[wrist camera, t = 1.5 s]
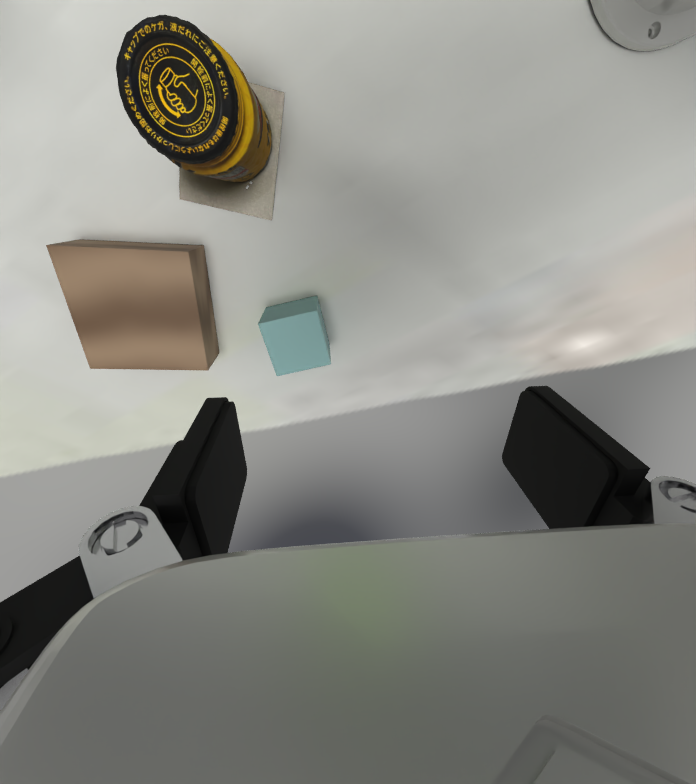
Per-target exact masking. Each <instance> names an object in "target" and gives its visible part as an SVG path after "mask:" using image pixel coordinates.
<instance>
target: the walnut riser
mask: <svg viewBox="0 0 696 784" xmlns="http://www.w3.org/2000/svg"><path fill="white" fill-rule="evenodd" d="M46 246H47V249H48V251H49V254H50V257H51V260H52V263H53V265H54V268H55V271H56V274H57V277H58V279H59V282H60V285H61V288H62V291H63V293H64V296H65V299H66V302H67V305H68V308H69V310H70V313H71V316H72V319H73V322H74V324H75V327H76V330H77V333H78V336H79V338H80V341H81V344H82V347H83V350H84V352H85V355H86V358H87V361H88V364H89V366H90V369H155V370H209V368H210V366H211V365H212V363H213V362H214V360H215V359H216V357H217V356H218V354H219V347H218V341H217V334H216V327H215V320H214V313H213V306H212V299H211V292H210V285H209V278H208V271H207V264H206V257H205V251H204V246H203V245H183V244H162V243H141V242H121V241H100V240H74V241H68V242H62V243H56V244H50V245H46Z"/></svg>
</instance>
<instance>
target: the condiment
mask: <svg viewBox="0 0 696 784" xmlns="http://www.w3.org/2000/svg"><path fill="white" fill-rule="evenodd" d="M116 71H117V78H118V86H119V92H120V96H121V99H122V102H123V106H124V108H125V110H126V112H127V114H128V116H129V118H130V120H131V121H132V123H133V125H134V126H135V127H136V128H137V129H138V132H139V133H140V135H141V136H142V137H143V138H145V139H146V141H147V143H148V144H149V145H151V146H152V147H153V148H155V149H156V150H157V151H158V152H159V153H161V154H163V155H165V156H166V157H167V158H168V159H169V160H171V161H172V162H173V163H175V164H176V165H177V166H178V167H180V170H179V171H180V179H179V189H180V199H182V200H186V201H191V202H195V203H199V204H204V205H208V206H212V207H217V208H221V209H225V210H229V211H235V212H238V213H242V214H246V215H251V216H255V217H259V218H263V219H268V220H272V214H273V204H274V193H275V183H276V174H277V164H278V154H279V144H280V134H281V125H282V114H283V104H284V92H280V91H277V90H273V89H270V88H267V87H263V86H260V85H256V84H253V83H249V82H247V79H246V77H245V76H244V73H243V72H242V71H241V69H240V68H239V66H238V65H237V63H236V62H235V61H234V60H233V58H232V57H231V56H230V55H229V54H228V53H227V52H226V51H225V50H224V49H223V48H222V47H221V46H220V45H219V44H218V43H216V42H215V41H214V40H212V39H210V38H209V37H208V36H207V35H205V34H204V33H202V32H201V31H200V30H199V29H198V28H197V27H196V26H195V25H193V24H192V23H190V22H188V21H185V20H181V19H179V18H177V17H172V16H167V15H158V16H156V17H148V18H146V19H144V20H142V21H141V22H139V23H138V24H137V25H135V26H134V27H133V29H131V30H130V31H128V32H127V33H126V35H125V37H124V40H123V43H122V46H121V49H120V52H119V55H118V58H117V64H116ZM251 181H252V182H253V183H252V184H249V182H251ZM247 185H249V188H248V189H246V188H245V187H246V186H247Z"/></svg>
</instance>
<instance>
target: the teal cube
mask: <svg viewBox="0 0 696 784" xmlns="http://www.w3.org/2000/svg"><path fill="white" fill-rule="evenodd" d="M258 325H259V328H260V331H261V333H262V336H263V339H264V342H265V344H266V347H267V350H268V353H269V356H270V358H271V361H272V364H273V367H274V370H275V372H276V375H277V376H280V375H285V374H289V373H294V372H298V371H302V370H307V369H311V368H316V367H320V366H325V365H329V364H331V359H330V346H329V340H328V336H327V333H326V329H325V325H324V321H323V317H322V313H321V309H320V305H319V301H318V297H317V296H313V297H309V298H304V299H300V300H296V301H292V302H287V303H283V304H279V305H274V306H270V307H266V309H265V311H264V313H263V315H262V317H261V319H260V321H259V323H258Z"/></svg>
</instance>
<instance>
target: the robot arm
mask: <svg viewBox="0 0 696 784" xmlns="http://www.w3.org/2000/svg"><path fill="white" fill-rule="evenodd" d="M590 1H591V4H592V7H593V10H594V14H595V16H596V18H597V20H598V21H599V23H600V25H601V27H602V28H603V30H604V31H605V32H606V33H607V34H608V35H609V36H610V37H611V38H612V39H613V40H614V41H615V42H616V43H618V44H620V45H622V46H624V47H626V48H627V49H633V50H638V51H651V50H659V49H662V48H665V47H668V46H671V45H674V44H676V43H678V42H680V41H682V40H685V39H687V38H689V37H691V36H693V35H695V34H696V0H590ZM502 459H503V463H504V465H505V466H506V468H507V469H508V471H509V472H510V473H511V475H512V476H513V478H514V479H515V481H516V482H517V483H518V485H519V486H520V488H521V489H522V491H523V492H524V493H525V495H526V496H527V498H528V499H529V500H530V502H531V503H532V505H533V506H534V508H535V509H536V510H537V512H538V513H539V514H540V516H541V517H542V519H543V520H544V522H545V523H546V524H547V526H548V527H549V529H542V530H525V531H509V532H495V533H479V534H463V535H448V536H434V537H419V538H405V539H390V540H376V541H362V542H349V543H335V544H321V545H308V546H296V547H284V548H272V549H261V550H250V551H240V552H232V553H227V552H228V548H229V544H230V540H231V536H232V533H233V529H234V524H235V521H236V517H237V513H238V509H239V505H240V501H241V497H242V493H243V489H244V486H245V482H246V476H247V466H246V461H245V456H244V450H243V445H242V440H241V434H240V429H239V424H238V419H237V413H236V408H235V404H234V402H229V401H228V399H227V398H226V397H222V398H207V399H206V400H205V402H204V404H203V406H202V407H201V409H200V411H199V413H198V415H197V416H196V418H195V420H194V422H193V424H192V425H191V427H190V429H189V431H188V433H187V434H186V436H185V438H184V440H181V441H178V442H177V443H176V444H175V445H174V447H173V449H172V451H171V453H170V454H169V456H168V457H167V459H166V461H165V463H164V464H163V466H162V468H161V470H160V471H159V473H158V475H157V476H156V478H155V480H154V482H153V483H152V485H151V487H150V489H149V490H148V492H147V493H146V495H145V497H144V499H143V500H142V502H141V504H140V506H131V507H127V508H121V509H119V510H116V511H114V512H111V513H109V514H108V515H106V516H104V517H103V518H101V519H99V520H98V521H97V522H96V523H95V524H93V525H92V526H91V527H90V528H89V529H88V530H87V532H86V533H85V534H84V535H83V537H82V539H81V541H80V544H79V555H80V556H78V557H76V558H75V559H73V560H71V561H70V562H68V563H66V564H65V565H63V566H61V567H60V568H58V569H56V570H55V571H53V572H51V573H49V574H48V575H46V576H44V577H43V578H41V579H39V580H37V581H36V582H34V583H33V584H31V585H29V586H27V587H26V588H24V589H23V590H21V591H19V592H17V593H16V594H14V595H12V596H10V597H9V598H7V599H5V600H4V601H2V602H0V784H696V484H694V483H692V482H689V481H687V480H683V479H680V478H676V477H668V476H660V477H656V478H654V479H653V480H652V481H651V482H649V481H648V480H647V479H646V478H645V476H646V474H647V473H648V471H649V469H650V468H649V467H648V466H647V465H645V464H644V463H643V462H642V461H640V460H639V459H638V458H637V457H635V456H634V455H633V454H632V453H630V452H629V451H628V450H627V449H625V448H624V447H623V446H622V445H621V444H619V443H618V442H617V441H616V440H614V439H613V438H612V437H611V436H609V435H608V434H607V433H606V432H604V431H603V430H602V429H601V428H599V427H598V426H597V425H596V424H594V423H593V422H592V421H591V420H589V419H588V418H587V417H586V416H585V415H583V414H582V413H581V412H580V411H578V410H577V409H576V408H574V407H573V406H572V405H571V404H570V403H568V402H567V401H566V400H565V399H563V398H562V397H561V396H560V395H558V394H557V393H556V392H555V391H553V390H552V389H551V388H550V387H548V386H531V387H528V388H526V390H525V391H523V392H522V393H521V394H520V396H519V400H518V403H517V407H516V410H515V413H514V417H513V420H512V424H511V427H510V430H509V434H508V437H507V440H506V444H505V447H504V451H503V454H502Z"/></svg>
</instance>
